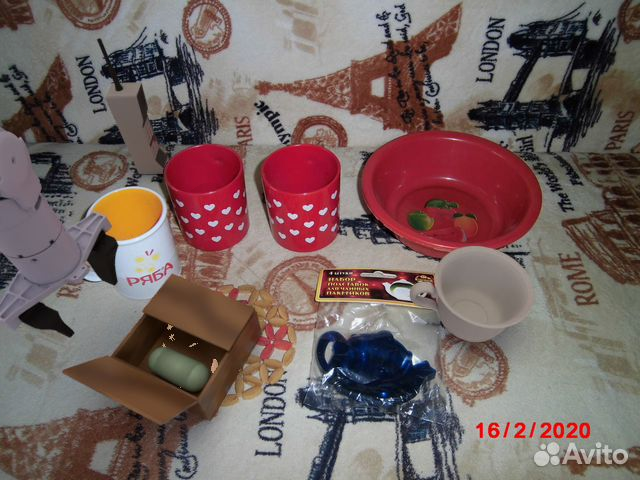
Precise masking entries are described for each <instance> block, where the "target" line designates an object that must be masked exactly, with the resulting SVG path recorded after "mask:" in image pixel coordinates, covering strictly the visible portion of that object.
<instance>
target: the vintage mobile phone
mask: <svg viewBox="0 0 640 480" xmlns="http://www.w3.org/2000/svg"><path fill="white" fill-rule="evenodd" d="M96 41H97V44H98V46H99V49H100V51H101V53H102V55H103V58H104V61H105V63H106V65H107V69H108V73H109V74H110V76H111V80H112V83H111V84H110V86H109V88H108V91H107V93H106V95H105V97H104V98H105V102H106V103H107V106H108V108H109V110H110V113H111V115H112V118H113V119H114V122H115V123H116V126H117V128H118V131H119V133H120V135H121V137H122V140H123V142H124V144H125V147H126V148H127V151H128V153H129V155H130V157H131V160H132V161H133V165H134V166H135V168H136V171H137V173H138V175H164V174H163V169H164V167H165V165H166V163H167V162H168V161H169V162H170V158H169V155H168V154H167V153H166V152H165V151H164V150H162V148H161V146H160V144H159V141H158V139H157V136H156V133H155V131H154V128H153V125H152V123H151V121H150V117H149V115H148V110H149V105H148V101H147V98H146V95H145V94H146V93H145V90H144V86H143V82H121V81H120V79H119V77H118V75H117V73H116V70H115V68H114V66H113V64H112V62H111V60H110V57H109V54H108V52H107V49H106V47H105V45H104V42H103V40H102V38H100V37H98V38H96Z"/></svg>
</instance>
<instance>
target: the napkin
mask: <svg viewBox="0 0 640 480" xmlns="http://www.w3.org/2000/svg"><path fill="white" fill-rule="evenodd" d="M148 366H149V368H150V370H151V371H152V372H153V373H154V374H156V375H158V376H160V377H162V378H164V379H166V380H168V381H170V382H172V383H174V384H176V385H178V386H180V387H182V388H184V389H186V390H188V391H191V392H197V391H200V390H202V389H204V387H205V386H206V384H207V383H208V381H209V379H210V372H209V370H208V368H207V367H206V366H205V365H204V364H202V363H200V362H198V361H196V360H194V359H192V358H190V357H188V356H186V355H183V354H181V353H179V352H177V351H175V350H173V349H171V348H168V347H160V348H157V349H156V350H154V351H153V352H152V353H151V355H150V356H149V359H148Z"/></svg>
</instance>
